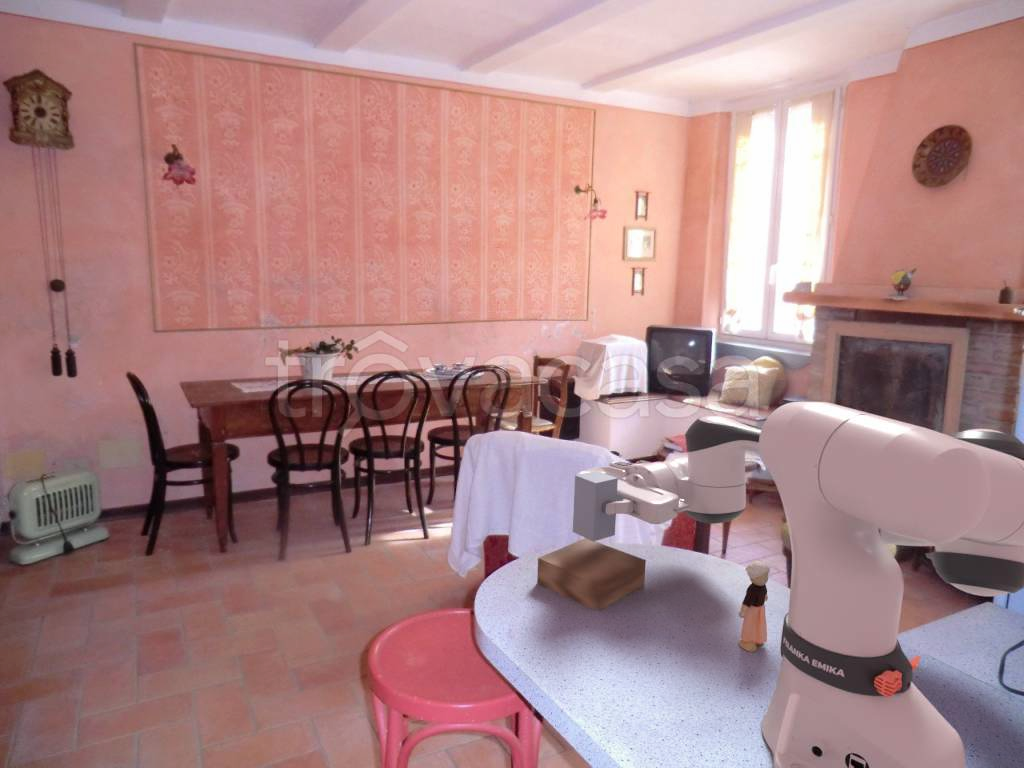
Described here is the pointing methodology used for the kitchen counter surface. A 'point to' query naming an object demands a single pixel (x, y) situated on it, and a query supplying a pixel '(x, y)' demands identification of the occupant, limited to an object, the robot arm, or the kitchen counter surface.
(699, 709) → the kitchen counter surface
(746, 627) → the grandmother figurine
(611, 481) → the slate pillar block
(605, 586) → the walnut block
